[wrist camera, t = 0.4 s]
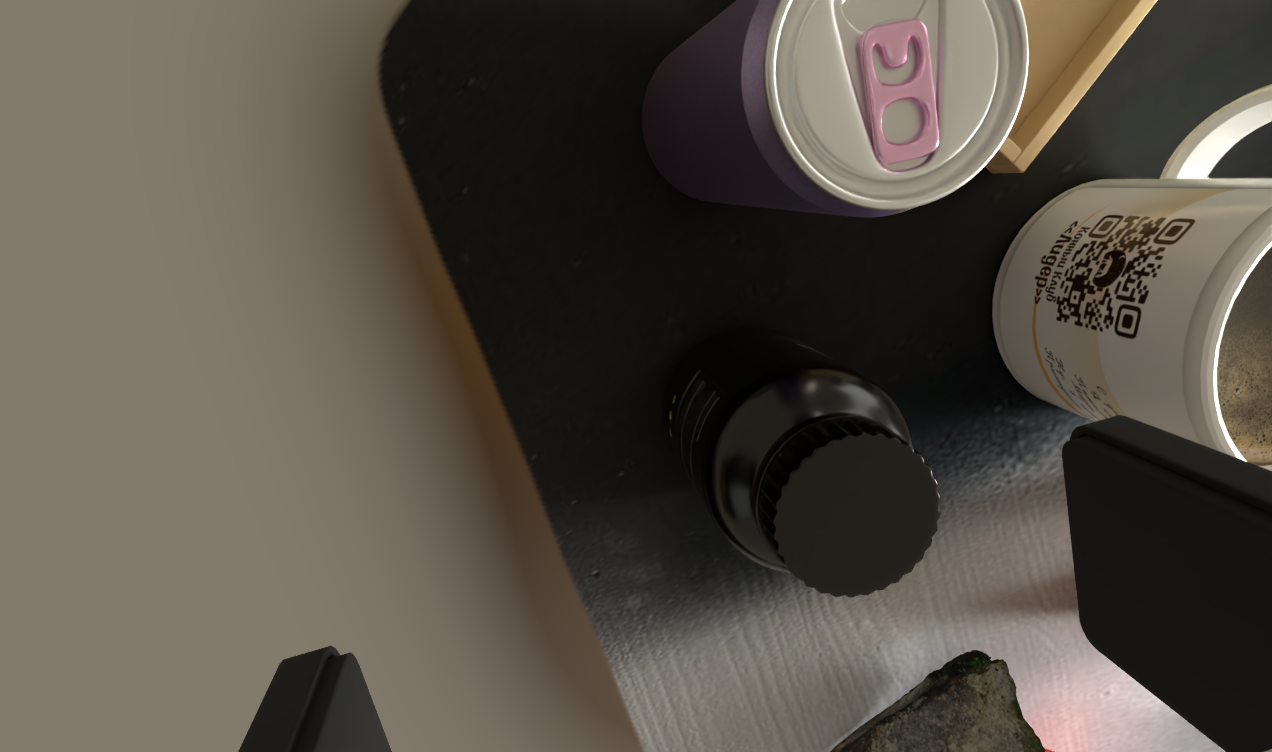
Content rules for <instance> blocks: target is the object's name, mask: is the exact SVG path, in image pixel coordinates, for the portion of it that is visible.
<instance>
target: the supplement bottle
mask: <svg viewBox="0 0 1272 752" xmlns="http://www.w3.org/2000/svg"><path fill="white" fill-rule="evenodd" d="M663 419H664V426H665V431H666V435H667V438H668V441H669V443H670V446H671V448H672V450H673V452H674V454H675V456H676V458H677V459H678V461H679V463H680V464H681V466H682V468H683V469H684V471H685V473H686V475H687V476H688V478H689V480H690V481H691V483H692V485H693V486H694V488H695V490H696V491H697V493H698V495H699V497H700V498H701V500H702V502H703V503H704V505H705V507H706V508H707V510H708V512H709V513H710V515H711V517H712V519H713V520H714V522H715V524H716V525H717V527H718V528H719V529H720V531H721V532H722V533H723V535H724V536H725V537H726V539H727V540H728V541H729V542H730V543H731V544H732V545H733V546H734V547H735V548H736V549H737V550H738V551H740V552H741V553H742V554H744V555H745V556H747V557H748V558H750V559H751V560H753V561H755V562H757V563H759V564H761V565H763V566H766V567H768V568H772V569H775V570H779V571H784V572H790V573H791V575H792V576H794V577H796V578H798V579H800V580H801V581H802V583H803V584H804V585H805V586H807V587H811V588H815V589H816V590H817V591H818V592H819V593H824V594H825V593H830V594H831V595H833V596H835V597H839V596H843V595H846V596H848V597H855V596H857V595H859V594H862V595H869V594H871V593H872V592H874V591H876V590H884V589H885V588H886V587H887V586H888V585H890V584H892V583H896V582H898V581H899V580H900V579H901V578H902V577H903V575H905V574H907V573H909V572H911V571H912V569H913V568H914V566H915V564H916V563H918V562H919V561H921V560H922V559H923V556H924V553H925V551H926V550H927V549H928V548H929V547H930V546H931V543H932V537H933V535H934V534H935V533H936V531H937V520H938V518H939V516H940V510H939V507H938V506H939V503H940V496H939V494H938V492H937V482H936V480H935V479H934V478H933V477H932V470H931V468H930V466H928V465H927V464H926V463H924V460H923V457H922V455H921V454H920V453H919V452H917V451H916V450H914V444H913V440H912V436H911V432H910V429H909V427H908V424H907V422H906V420H905V418H904V416H903V414H902V412H901V411H900V409H899V407H898V406H897V404H896V403H895V402H894V401H893V399H892V398H891V397H890V396H889V395H888V394H887V393H886V392H885V391H884V390H883V389H882V388H880V387H879V386H878V385H877V384H875V383H874V382H872V381H871V380H870V379H868V378H866V377H865V376H863V375H862V374H860V373H858V372H856V371H854V370H852V369H851V368H849V367H847V366H845V365H843V364H841V363H839V362H838V361H836V360H834V359H832V358H830V357H828V356H826V355H824V354H823V353H821V352H819V351H817V350H815V349H813V348H811V347H810V346H808V345H806V344H804V343H802V342H800V341H798V340H796V339H794V338H792V337H790V336H788V335H786V334H784V333H782V332H779V331H776V330H773V329H769V328H765V327H758V326H742V327H735V328H730V329H726V330H723V331H720V332H718V333H715V334H713V335H711V336H709V337H708V338H706V339H704V340H703V341H701V342H700V343H698V344H697V345H696V346H695V347H693V348H692V349H691V350H690V351H689V352H688V353H687V354H686V355H685V356H684V358H683V359H682V360H681V361H680V363H679V364H678V366H677V367H676V369H675V370H674V372H673V374H672V376H671V378H670V381H669V383H668V386H667V389H666V393H665V398H664V406H663Z"/></svg>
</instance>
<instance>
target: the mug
mask: <svg viewBox="0 0 1272 752" xmlns="http://www.w3.org/2000/svg"><path fill="white" fill-rule="evenodd" d="M1271 121H1272V84H1271V85H1268V86H1264V87H1262V88H1259V89H1257V90H1255V91H1252V92H1250V93H1248V94H1245V95H1244V96H1242V97H1240V98H1238V99H1236V100H1234V101H1233V102H1231V103H1229V104H1227V105H1226V106H1224V107H1223V108H1221V109H1220V110H1218V111H1217V112H1215V113H1214V114H1212V115H1211V116H1209V117H1208V118H1207V119H1206V120H1204V121H1203V122H1202V123H1201V124H1199V125H1198V126H1197V127H1196V128H1195V129H1194V130H1193V131H1192V132H1191V133H1190V134H1189V135H1188V136H1187V137H1186V138H1185V139H1184V140H1183V141H1182V143H1181V144H1180V145H1179V146H1178V147H1177V148H1176V150H1175V151H1174V153H1173V154H1172V156H1171V157H1170V159H1169V160H1168V162H1167V164H1166V166H1165V168H1164V170H1163V172H1162V174H1161V176H1160V178H1112V179H1100V180H1096V181H1092V182H1088V183H1084V184H1081V185H1079V186H1076V187H1074V188H1072V189H1069V190H1067V191H1065V192H1064V193H1062V194H1060V195H1059V196H1057V197H1056V198H1054V199H1052V200H1051V201H1049V202H1048V203H1047V204H1046V205H1044V206H1043V207H1042V208H1041V209H1040V210H1039V211H1037V212H1036V213H1035V214H1034V215H1033V216H1032V217H1031V218H1030V219H1029V220H1028V222H1027V223H1026V224H1025V225H1024V226H1023V227H1022V228H1021V230H1020V231H1019V233H1018V234H1017V236H1016V237H1015V239H1014V240H1013V242H1012V243H1011V245H1010V247H1009V249H1008V251H1007V253H1006V255H1005V257H1004V259H1003V261H1002V263H1001V266H1000V269H999V272H998V275H997V278H996V283H995V288H994V293H993V303H992V320H993V330H994V335H995V339H996V343H997V346H998V350H999V352H1000V354H1001V356H1002V358H1003V360H1004V363H1005V365H1006V366H1007V368H1008V369H1009V371H1010V372H1011V373H1012V375H1013V376H1014V378H1015V379H1016V380H1017V381H1018V382H1019V383H1020V384H1021V385H1022V386H1023V387H1024V388H1025V389H1026V390H1027V391H1029V392H1030V393H1032V394H1033V395H1034V396H1036V397H1037V398H1039V399H1041V400H1043V401H1046V402H1048V403H1050V404H1052V405H1055V406H1057V407H1060V408H1062V409H1065V410H1067V411H1070V412H1072V413H1074V414H1077V415H1079V416H1082V417H1084V418H1087V419H1089V420H1092V421H1094V422H1096V421H1100V420H1103V419H1106V418H1110V417H1113V416H1117V415H1123V416H1127V417H1130V418H1132V419H1135V420H1138V421H1140V422H1143V423H1146V424H1148V425H1151V426H1154V427H1156V428H1159V429H1162V430H1164V431H1167V432H1169V433H1172V434H1175V435H1177V436H1180V437H1183V438H1185V439H1188V440H1191V441H1193V442H1196V443H1199V444H1201V445H1204V446H1207V447H1209V448H1212V449H1215V450H1217V451H1220V452H1223V453H1225V454H1228V455H1230V456H1233V457H1236V458H1238V459H1241V460H1244V461H1246V462H1249V463H1252V464H1254V465H1257V466H1260V467H1262V468H1265V469H1268V470H1270V471H1272V177H1208V175H1209V173H1210V172H1211V171H1212V169H1213V168H1214V166H1215V165H1216V164H1217V162H1218V161H1219V160H1220V159H1221V158H1222V157H1223V156H1224V155H1225V153H1226V152H1227V151H1229V150H1230V149H1231V148H1232V147H1233V146H1234V145H1235V144H1236V143H1237V142H1238V141H1240V140H1241V139H1242V138H1244V137H1245V136H1246V135H1248V134H1249V133H1251V132H1252V131H1254V130H1256V129H1257V128H1259V127H1261V126H1263V125H1265V124H1267V123H1269V122H1271Z"/></svg>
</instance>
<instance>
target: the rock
mask: <svg viewBox="0 0 1272 752" xmlns="http://www.w3.org/2000/svg"><path fill="white" fill-rule="evenodd" d="M990 659H991V657H989V656H988V655H987V654H985V653H983V652H981V651H978V650H972V651H971V652H966V653H964V654H963V655H960V656H958V657H956V658H954V659H953V660H951V661H949V662H947V663H946V664H945V665H944V666H943V667H942V668H941V669H940V670H936V671H933V672H932V673H930V674H929V675H928V676H927V677H926V678H925V680H924V681H923V682H921V683H920V684H918V685H917V686H916V687H915V688H913V689H912V690H910V692H909V693H907V694H905V695H904V696H903V697H902V698H901V699H900V700H898V701H897V702H895V703H894V704H893V705H892V706H890V707H888V708H887V709H885V710H884V711H882V712H881V713H880V714H878V715H876V716H875V717H874V718H872V719H871V720H869V721H868V722H866V723H865V724H863V725H862V726H860V727H859V728H858V729H857V730H855V731H854V732H853V733H852V734H851V735H849V736H848V737H847V738H846V739H844V740H843V741H842V742H841V743H840V744H838V745H837V746H836V747H835V748H834V749H832V750H831V751H830V752H1045V749H1044V747H1043V746H1042V744H1041V741H1040V739H1039V738H1038V737H1037V736H1036V735H1035V733H1034V730H1033V729H1032V728H1031V727H1030V726H1029V724H1028V723H1027V722H1026V721H1025V720H1024V719H1023V716H1022V713H1021V710H1020V707H1019V704H1018V701H1017V697H1016V686H1015V683H1014V681H1013V678H1012V677H1011V676H1010V675H1009V671H1008V667H1007V664H1006V662H1005V661H1004V660H998V659H997V660H994V661H991V660H990Z"/></svg>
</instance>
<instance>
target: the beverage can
mask: <svg viewBox="0 0 1272 752" xmlns="http://www.w3.org/2000/svg"><path fill="white" fill-rule="evenodd" d="M1028 65H1029V42H1028V32H1027V26H1026V21H1025V16H1024V12H1023V9H1022V5H1021V3H1020V0H737V1H735V2H734V3H733V4H731V5H730V6H729V7H728V8H726V9H725V10H724V11H723V12H721V13H720V14H719V15H718V16H716V17H715V18H714V19H713V20H711V21H710V22H709V23H707V24H706V25H705V26H704V27H702V28H701V29H700V30H699V31H697V32H696V33H695V34H694V35H692V36H691V37H690V38H689V39H687V40H686V41H685V42H684V43H682V44H681V45H680V46H678V47H677V48H676V49H675V50H673V51H672V52H671V53H670V54H669V55H668V56H667V57H666V58H665V59H664V60H663V61H662V63H661V64H660V65H659V66H658V68H657V69H656V71H655V72H654V74H653V76H652V78H651V80H650V82H649V84H648V87H647V90H646V93H645V96H644V101H643V107H642V131H643V137H644V141H645V145H646V148H647V151H648V153H649V156H650V158H651V160H652V162H653V163H654V165H655V167H656V168H657V170H658V171H659V173H660V174H661V175H662V176H663V177H664V178H665V179H666V180H667V181H668V182H669V183H670V184H671V185H672V186H673V187H675V188H676V189H677V190H679V191H680V192H682V193H684V194H686V195H688V196H690V197H692V198H695V199H698V200H701V201H706V202H712V203H722V204H732V205H742V206H752V207H762V208H772V209H782V210H792V211H802V212H812V213H822V214H832V215H842V216H852V217H881V216H888V215H893V214H897V213H901V212H904V211H907V210H910V209H912V208H915V207H918V206H921V205H925V204H928V203H931V202H933V201H936V200H938V199H940V198H942V197H945V196H947V195H948V194H950V193H952V192H954V191H955V190H957V189H958V188H960V187H961V186H963V185H964V184H966V183H967V182H968V181H970V180H971V179H972V178H973V177H974V176H975V175H977V174H978V173H979V172H980V171H981V170H982V169H983V168H984V167H985V166H986V165H987V163H988V162H989V161H990V160H991V159H992V158H993V156H994V155H995V154H996V152H997V151H998V150H999V148H1000V147H1001V145H1002V144H1003V142H1004V140H1005V139H1006V137H1007V135H1008V133H1009V132H1010V130H1011V128H1012V126H1013V123H1014V121H1015V119H1016V117H1017V114H1018V111H1019V109H1020V106H1021V102H1022V99H1023V96H1024V91H1025V87H1026V81H1027V75H1028Z"/></svg>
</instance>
